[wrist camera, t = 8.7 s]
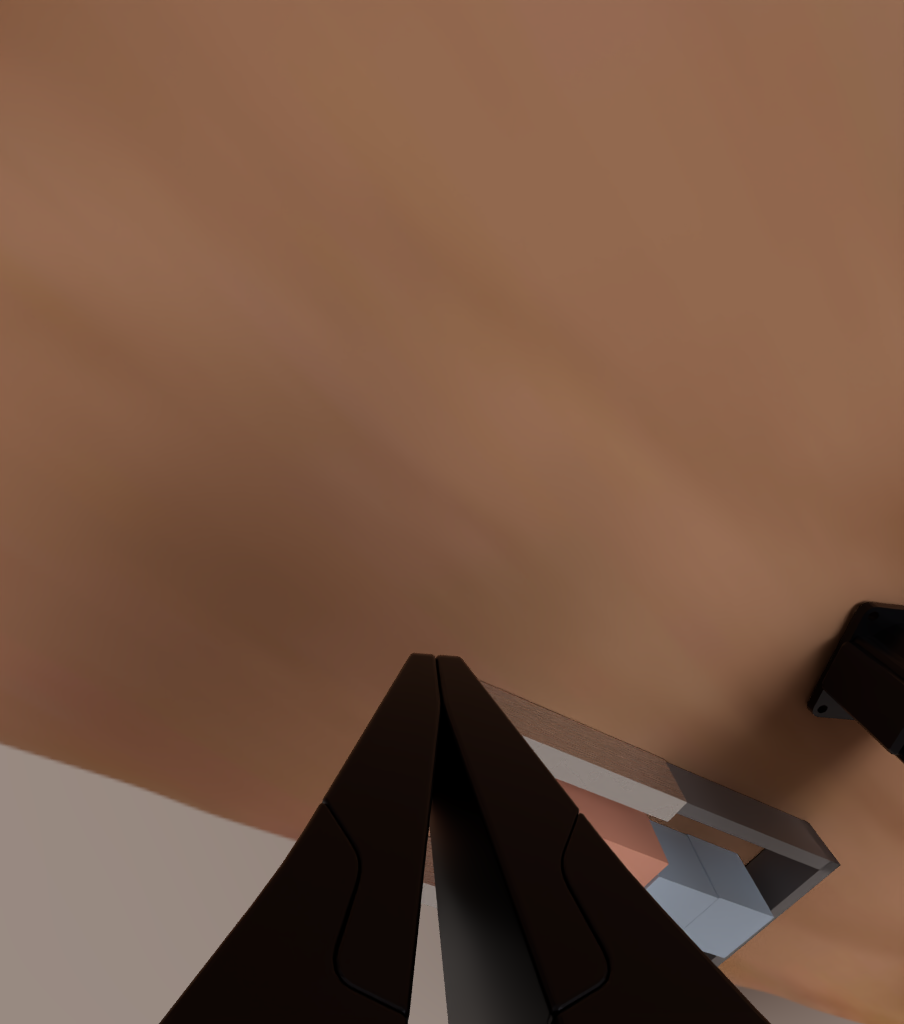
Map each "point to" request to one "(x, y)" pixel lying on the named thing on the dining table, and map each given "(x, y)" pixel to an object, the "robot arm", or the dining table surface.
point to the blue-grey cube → (726, 902)
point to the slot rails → (584, 766)
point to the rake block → (622, 832)
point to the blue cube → (680, 878)
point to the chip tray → (760, 841)
